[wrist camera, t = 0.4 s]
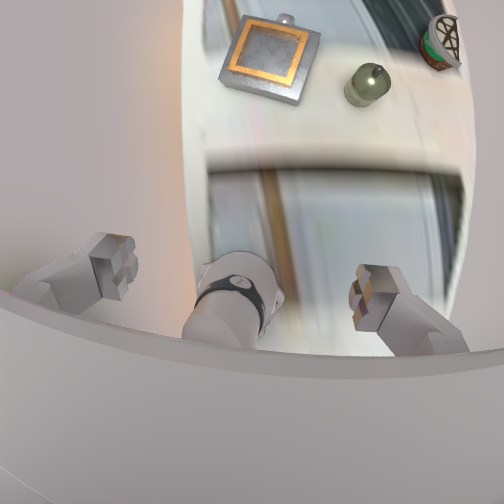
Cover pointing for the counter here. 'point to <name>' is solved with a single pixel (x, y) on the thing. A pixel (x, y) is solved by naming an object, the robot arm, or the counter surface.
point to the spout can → (367, 85)
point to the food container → (441, 43)
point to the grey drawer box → (270, 58)
